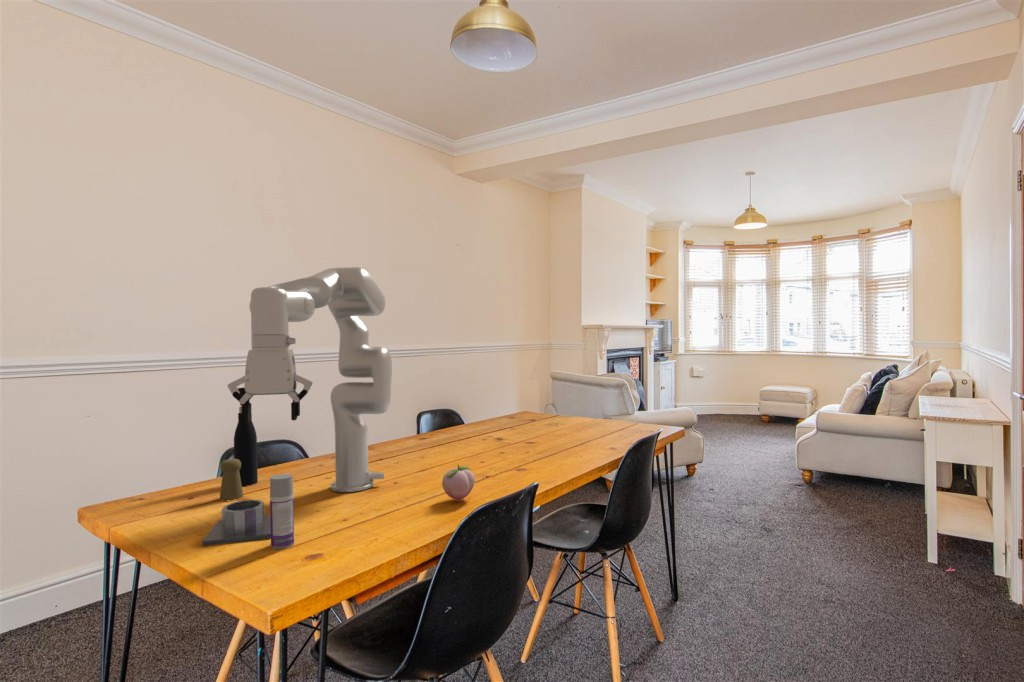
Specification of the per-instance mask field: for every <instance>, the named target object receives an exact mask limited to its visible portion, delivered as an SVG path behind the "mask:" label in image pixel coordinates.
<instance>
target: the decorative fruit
mask: <svg viewBox="0 0 1024 682" xmlns="http://www.w3.org/2000/svg"><path fill="white" fill-rule="evenodd" d="M475 482H476V478H475V475H474V474H473V473H472V471H471V468H470V467H469V466H465V465H459V464H457V467H455V468H452V469H449V470H447V472H445V474H444V475H443V477H442V483H441V486H442V489H443V491H444V492H445V494H446V495H447V496H448V497H449V498H451V499H452V500H454V501H458V502H460V501H462V500H464V499H465V498H467V496H469V495H470V493H471V492H472V490H473V488H474V486H475Z"/></svg>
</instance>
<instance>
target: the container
mask: <svg viewBox="0 0 1024 682" xmlns="http://www.w3.org/2000/svg"><path fill="white" fill-rule="evenodd" d="M293 480H294V479H293V475H292V474H290V473H281V474H275V475H274V474H273V475H272V476H270V479H269V483H270V485H269V491H270V492H269V511H270V512H269V513H270V514H269V515H270V523H271V538H270V548H272V549H275V550H284V549H287V548H290V547H293V545H295V521H294V520H295V519H294V518H295V516H294V515H295V513H294V509H295V508H294V483H293Z"/></svg>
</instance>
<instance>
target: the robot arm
mask: <svg viewBox="0 0 1024 682" xmlns="http://www.w3.org/2000/svg"><path fill="white" fill-rule="evenodd" d="M326 306H327V307H328V309H329V311H330V313H331V315H332V316H333V318H334V320H335V322H336V325H337V327H338V330H339V347H338V363H337V364H338V373H339V374H340V376H341V377H344V378H349V379H352V378H353V379H369V378H370V379H373V381H372V382H368V381H367V382H365V381H364V382H363V381H361V382H360V381H357V382H356V381H354V382H353V381H350V382H349V381H346V382H341V383H338V384H337V385H335V386H334V387H333V388H332V389H331V392H330V403H331V408H332V413H333V422H334V423H333V424H334V458H335V459H334V460H335V461H334V463H335V464H334V465H335V467H334V468H335V469H334V470H335V481H332V482H331V483H330V486H329V488H330V490H331V491H332V492H336V493H354V492H355V491H356V492H360V491H365V490H368V489H370V488H372V487H373V486H374V484H375V482H374V480H383V479H385V476H384V475H385V474H384V472H380V471H375V472H372V471H370V468H369V447H368V446H369V444H368V443H369V441H368V436H369V432H368V425H367V423H366V422H365V420H364V418H363V417H362V416H361V415H380V414H384V413H386V412H387V411H388V409H389V408H390V405H391V398H392V397H391V395H392V394H391V393H392V375H393V374H392V373H393V372H392V371H393V370H392V369H393V361H392V356H391V353H390V351H389V350H388V349H387V348H385V347H382V346H369V335H370V333H369V329H368V327H367V326H366V324H365V322H363V320H362V319H361V318H360V317H374V316H375V317H376V316H379V315H381V314H382V313H383V312H384V310H385V308H386V298H385V294H384V292H383V291H382V288H381V287H380V286H379V285H378V283H377V282H376V280H375V279H374V277H373V276H372V275H371V273H369V272H368V271H367V270H366V269H364V268H363V267H359V266H358V267H357V266H355V267H354V266H353V267H352V266H350V267H347V266H346V267H330V268H327V269H323V270H322V271H319V272H317V273H315V274H313V275H310V276H308V277H303V278H302V277H301V278H298V279H293V280H290V281H286V282H280V283H276V284H272V285H270V286H264V287H262V286H261V287H256V288H254V289H252V291H251V293H250V302H249V311H250V330H251V332H250V333H251V334H250V336H251V338H250V339H251V349H248V351H247V356H246V359H245V361H246V363H245V369H244V376H241V377H240V378H238V379H236V380H234V381H232V382H230V383H228V384H227V388H228V390H229V391H230V393H231V395H232V397H233V398H234V399H236V400H237V401H238V402H239V405H240V404H242V406H241V407H242V418H244V422H249V421H251V420H252V419H253V418H252V414H251V413H252V403H251V402H250V400H252V398H253V397H254V396H267V395H268V396H269V395H272V396H273V395H275V396H276V395H288V397H290V399H292V402H291V403H290V407H291V411H290V413H291V414H290V417H291V418H290V419H291V421H297V420H298V417H300V415H301V405H300V404H301V400H303V398H305V396H307V395H308V393H309V391H310V390H311V387H312V386H313V381H312V380H309V379H307V378H305V377H303V376H301V375H298V374H297V370H296V369H297V368H296V367H297V366H296V359H295V354H294V350H293V349H289V348H290V345H296V343H297V342H296V338H295V337H290V335H289V323H298V322H305V321H307V320H309V319H311V317H313V315H314V313H315V311H316V309H320V308H323V307H326ZM298 383H300V384H302V385H303V387H302V390H301V391H300V392H299V393H298V391H296V390H297V385H298ZM242 384H244V388H245V392H246V393H245V395H243V394H241V393H240V392H239V391H238V388H239V387H238V386H241V385H242Z"/></svg>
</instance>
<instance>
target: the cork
mask: <svg viewBox="0 0 1024 682" xmlns="http://www.w3.org/2000/svg"><path fill="white" fill-rule="evenodd" d="M240 468H241V462H240V460H238V459H234V458H229V459H225V460H222V461H221V463H220V471H221V472H222V475H221V476H222V478H221V483H220V492H219V501H220V500H233V501H235V500H234V499H238V498H241V497H242V498H244V492H243V486H242V485H241V479H240V473H239V469H240ZM242 498H241V499H242ZM238 500H239V499H238Z"/></svg>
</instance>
